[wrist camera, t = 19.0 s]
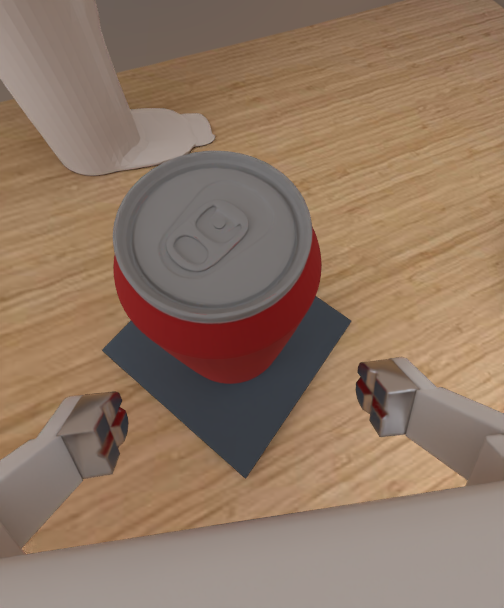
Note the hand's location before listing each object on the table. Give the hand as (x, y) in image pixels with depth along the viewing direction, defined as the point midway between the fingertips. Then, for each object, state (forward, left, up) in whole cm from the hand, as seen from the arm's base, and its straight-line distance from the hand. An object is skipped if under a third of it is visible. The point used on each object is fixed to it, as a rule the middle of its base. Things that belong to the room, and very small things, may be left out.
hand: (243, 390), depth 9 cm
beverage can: (+3, +3, -9) cm, 10 cm away
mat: (+3, +3, -9) cm, 10 cm away
